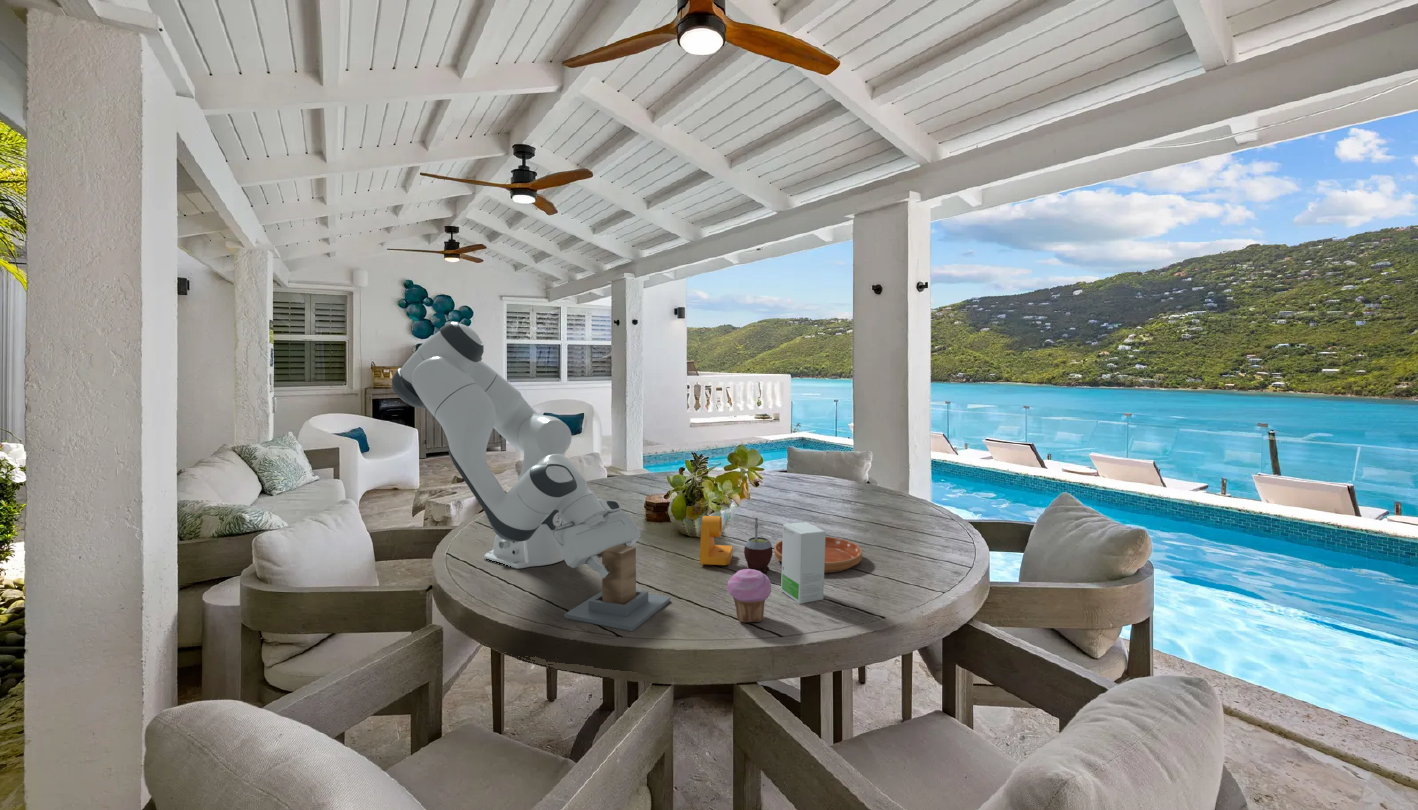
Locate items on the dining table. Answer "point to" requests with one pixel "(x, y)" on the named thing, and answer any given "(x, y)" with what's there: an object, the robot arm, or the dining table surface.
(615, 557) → the block
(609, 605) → the housing
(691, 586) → the dining table surface
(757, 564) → the mate gourd
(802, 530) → the skincare box
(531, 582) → the dining table surface
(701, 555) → the bracket
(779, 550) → the saucer
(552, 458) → the robot arm
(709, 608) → the dining table surface
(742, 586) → the cupcake
